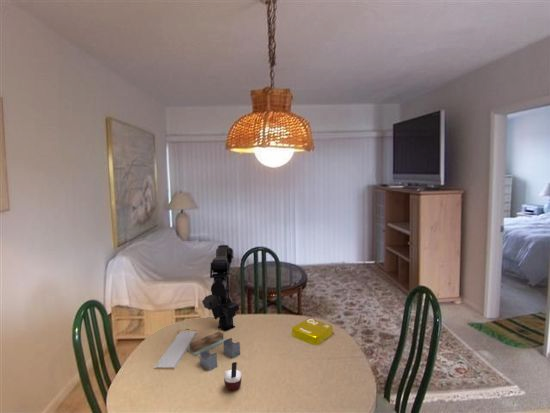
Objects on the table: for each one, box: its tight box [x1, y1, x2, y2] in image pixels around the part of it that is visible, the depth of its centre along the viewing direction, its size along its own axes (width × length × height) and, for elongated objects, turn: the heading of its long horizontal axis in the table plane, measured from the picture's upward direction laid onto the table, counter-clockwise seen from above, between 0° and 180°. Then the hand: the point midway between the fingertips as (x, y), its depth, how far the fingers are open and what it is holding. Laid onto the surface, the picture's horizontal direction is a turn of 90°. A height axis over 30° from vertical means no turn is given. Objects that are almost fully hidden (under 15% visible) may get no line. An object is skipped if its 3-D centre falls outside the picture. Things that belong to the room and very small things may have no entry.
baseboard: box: [153, 328, 197, 370], centre depth 150 cm, size 30×3×10 cm
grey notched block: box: [199, 349, 218, 372], centre depth 136 cm, size 4×6×6 cm, turn 46°
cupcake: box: [223, 361, 242, 391], centre depth 122 cm, size 10×6×12 cm, turn 175°
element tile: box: [291, 318, 334, 346], centre depth 161 cm, size 15×15×5 cm
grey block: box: [223, 337, 241, 359], centre depth 145 cm, size 4×6×6 cm, turn 46°
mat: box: [186, 337, 227, 357], centre depth 153 cm, size 17×7×1 cm, turn 136°
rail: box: [189, 330, 224, 353], centre depth 153 cm, size 16×3×3 cm, turn 136°
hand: (221, 321), depth 149 cm, fingers open, 9 cm apart
